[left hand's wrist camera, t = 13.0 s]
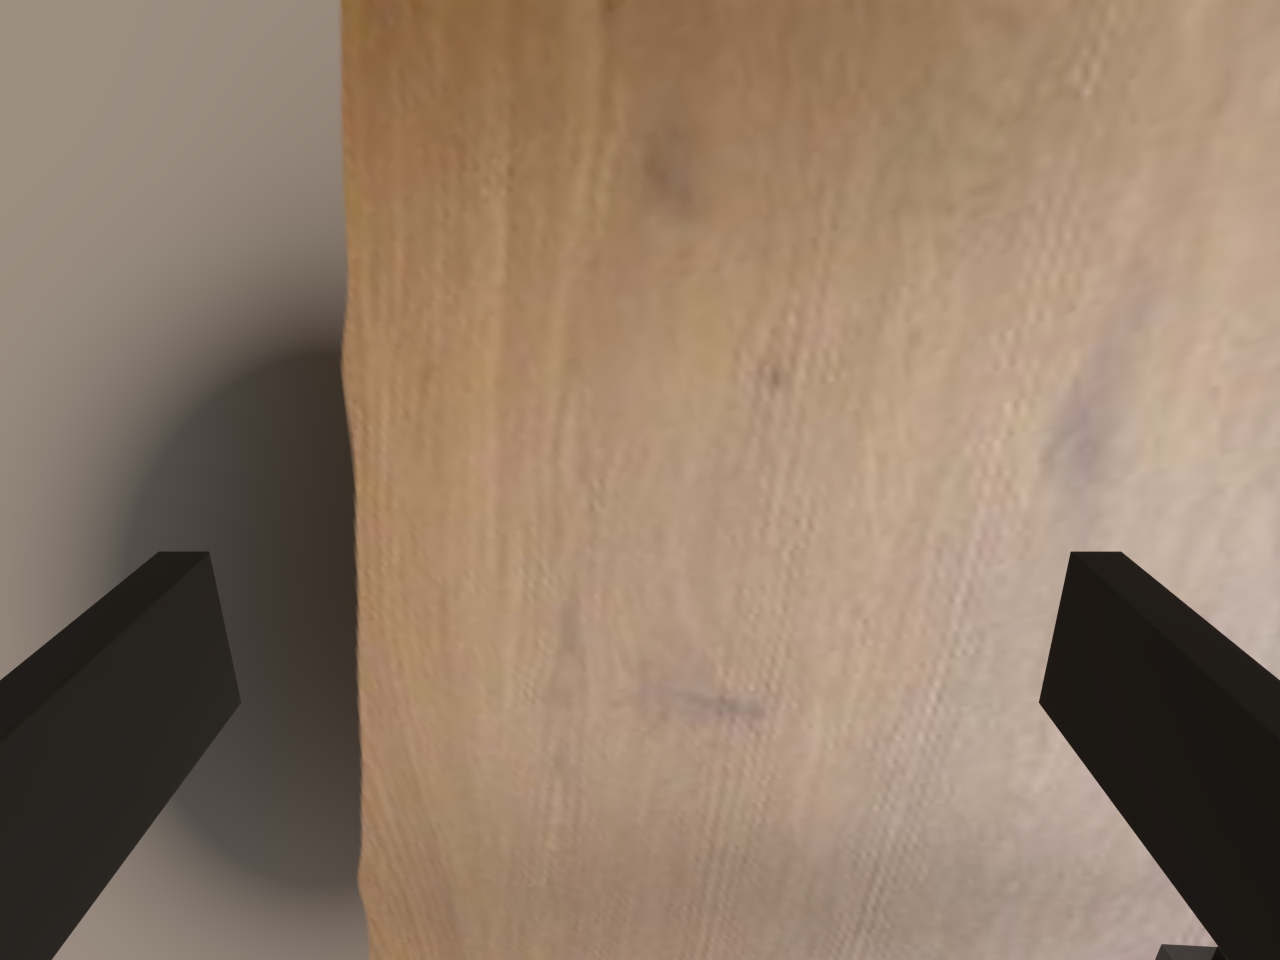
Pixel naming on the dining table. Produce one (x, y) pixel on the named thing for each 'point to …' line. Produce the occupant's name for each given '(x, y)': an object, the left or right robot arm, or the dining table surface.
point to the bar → (1185, 952)
